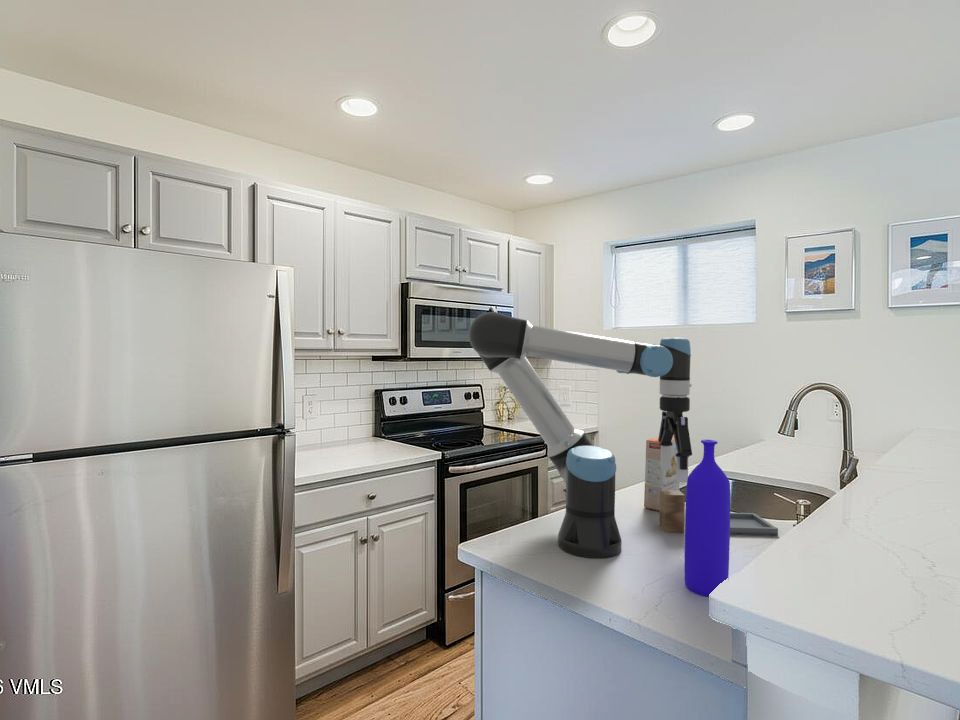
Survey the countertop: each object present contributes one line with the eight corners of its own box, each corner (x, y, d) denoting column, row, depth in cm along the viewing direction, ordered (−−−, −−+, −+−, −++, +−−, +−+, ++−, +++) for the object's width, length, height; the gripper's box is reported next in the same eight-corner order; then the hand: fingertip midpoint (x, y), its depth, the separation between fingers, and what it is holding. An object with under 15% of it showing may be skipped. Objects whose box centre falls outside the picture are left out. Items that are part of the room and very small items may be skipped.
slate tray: (726, 534, 138) (727, 527, 138) (707, 518, 151) (708, 511, 151) (777, 535, 137) (778, 528, 137) (754, 519, 150) (754, 513, 150)
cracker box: (662, 512, 156) (664, 442, 155) (643, 508, 160) (644, 439, 159) (680, 502, 166) (682, 436, 166) (662, 498, 170) (663, 434, 170)
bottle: (682, 577, 112) (685, 436, 111) (724, 582, 109) (728, 438, 108) (685, 594, 104) (688, 442, 103) (731, 601, 101) (735, 445, 100)
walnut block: (664, 532, 139) (665, 494, 138) (659, 526, 144) (660, 489, 144) (684, 533, 138) (684, 495, 138) (677, 526, 143) (678, 490, 143)
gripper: (706, 400, 128) (705, 487, 128) (674, 392, 153) (673, 465, 153) (675, 400, 128) (674, 487, 128) (647, 391, 153) (646, 464, 153)
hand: (673, 475), depth 141 cm, fingers open, 13 cm apart
